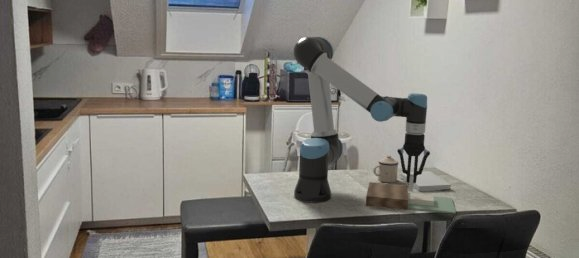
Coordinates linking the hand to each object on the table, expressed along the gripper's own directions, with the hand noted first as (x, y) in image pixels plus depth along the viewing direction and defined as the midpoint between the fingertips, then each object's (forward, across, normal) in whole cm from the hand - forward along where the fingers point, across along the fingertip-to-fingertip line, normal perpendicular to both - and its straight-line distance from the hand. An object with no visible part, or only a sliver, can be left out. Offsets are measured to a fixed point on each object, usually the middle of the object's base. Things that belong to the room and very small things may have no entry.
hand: (410, 190), depth 212 cm
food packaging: (+6, +7, +29) cm, 30 cm away
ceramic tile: (+4, +4, 0) cm, 6 cm away
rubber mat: (+5, +8, 0) cm, 9 cm away
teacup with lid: (+5, -11, +29) cm, 31 cm away
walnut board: (+5, -9, 0) cm, 10 cm away
